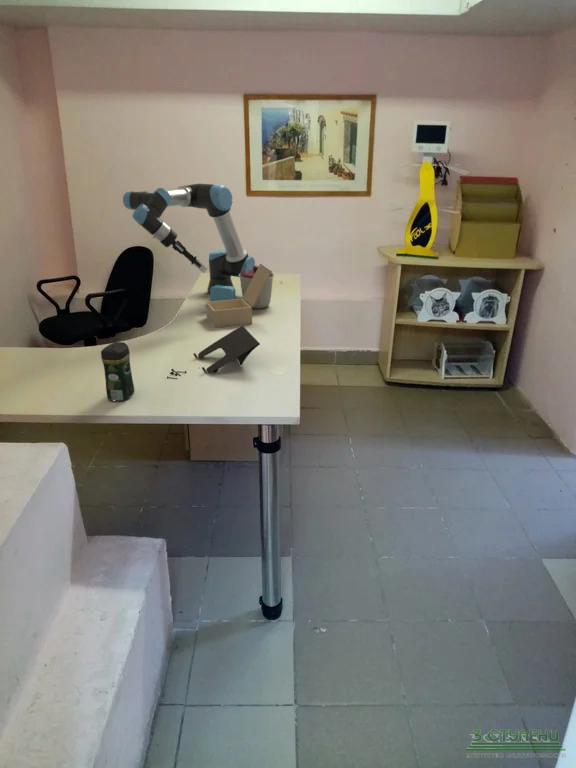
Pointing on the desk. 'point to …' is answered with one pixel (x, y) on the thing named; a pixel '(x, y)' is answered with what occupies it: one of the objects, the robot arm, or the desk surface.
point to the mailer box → (229, 313)
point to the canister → (265, 293)
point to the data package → (222, 293)
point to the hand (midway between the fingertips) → (205, 270)
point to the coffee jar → (117, 371)
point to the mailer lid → (257, 284)
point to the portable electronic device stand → (231, 348)
